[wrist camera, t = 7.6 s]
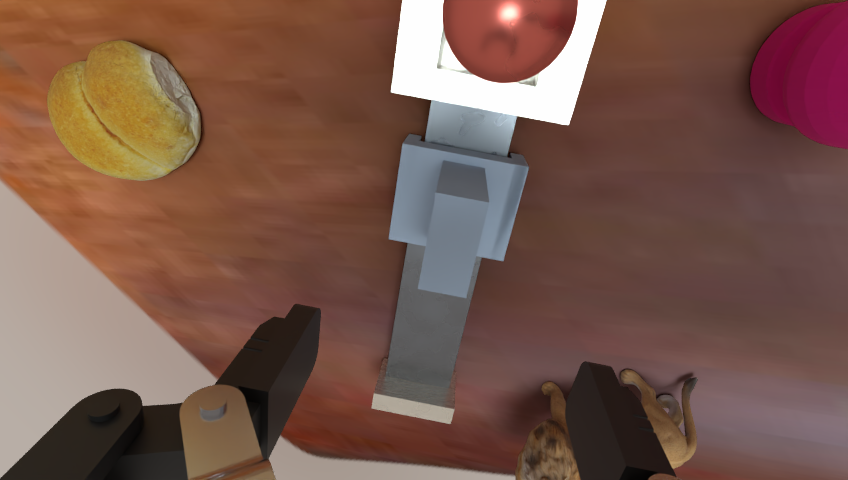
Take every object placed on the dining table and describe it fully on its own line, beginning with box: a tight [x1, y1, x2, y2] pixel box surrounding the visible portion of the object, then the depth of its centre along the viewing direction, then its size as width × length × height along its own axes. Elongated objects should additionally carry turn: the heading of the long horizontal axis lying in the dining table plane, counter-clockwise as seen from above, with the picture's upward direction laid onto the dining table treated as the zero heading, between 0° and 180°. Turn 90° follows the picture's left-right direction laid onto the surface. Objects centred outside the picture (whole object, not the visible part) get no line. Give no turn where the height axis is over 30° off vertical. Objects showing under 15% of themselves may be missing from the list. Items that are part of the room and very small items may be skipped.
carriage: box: [389, 134, 529, 298], centre depth 24 cm, size 7×6×9 cm
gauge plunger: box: [442, 0, 578, 83], centre depth 16 cm, size 4×4×6 cm
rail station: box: [372, 0, 606, 424], centre depth 26 cm, size 8×30×8 cm, turn 171°
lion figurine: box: [515, 369, 698, 480], centre depth 31 cm, size 15×5×9 cm, turn 113°
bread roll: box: [47, 40, 201, 181], centre depth 28 cm, size 8×9×4 cm
